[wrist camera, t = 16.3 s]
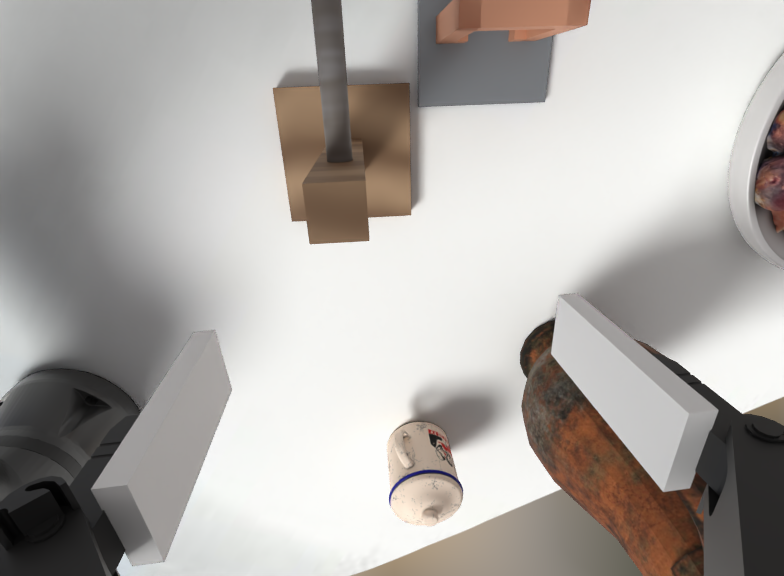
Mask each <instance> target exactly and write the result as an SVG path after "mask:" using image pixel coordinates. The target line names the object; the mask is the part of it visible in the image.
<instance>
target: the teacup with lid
mask: <svg viewBox="0 0 784 576" xmlns="http://www.w3.org/2000/svg"><path fill="white" fill-rule="evenodd" d="M387 455H388V468H389V480H390V495H389V503H390V506H391V508H392V510H393V512H394V513H395V515H396V516H397V517H398V518H399V519H401V520H402V521H404V522H407V523H409V524H413V525H426V526H434V525H435V524H437V523H439V522H442V521H444V520H446V519H448V518H449V517H451V516H452V515H453V514H454V513H455V512H456V511H457V510H458V509H459V507H460V505H461V502H462V499H463V488H462V485H461V483H460V482H459V480H458V477H457V473H456V469H455V465H454V462H453V458H452V454H451V450H450V446H449V442H448V439H447V436H446V434H445V432H444V431H443V430H442V429H441V428H440V427H438V426H436V425H434V424H432V423H428V422H412V423H409V424H406V425H403V426H401V427H400V428H398V429H397V430H396V431H395V432H394V433H393V434H392V435H391V436H390V438H389V440H388V443H387Z"/></svg>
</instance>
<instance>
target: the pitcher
mask: <svg viewBox="0 0 784 576" xmlns="http://www.w3.org/2000/svg"><path fill="white" fill-rule="evenodd" d="M554 327H555V321H551V322H547V323H546V324H544V325H542V326H540V327H538V328H537V329H535V330H534V331H533V332H532V333H531V334H530V336H529V337H528V338H527V339H526V340H525V342H524V345H523V347H522V350H521V352H520V364H521V367H522V370H523V373H524V375H525V376H526V377H527V382H526V386H525V390H524V395H523V400H522V412H523V418H524V423H525V427H526V432H527V436H528V440H529V444H530V446H531V448H532V449H533V451H534V452H535V454H536V455H537V457H538V458H539V460H540V461H541V463H542V464H543V466H544V467H545V469H546V470H547V471H548V473H549V474H550V476H551V477H552V479H553V480H554V482H555V483H557V484H558V485H559V486H560V487H561V488H562V489H563V490H564V491H565V492H566V493H567V494H568V495H569V496H571V497H572V498H573V499H574V500H575V501H576V502H577V503H578V504H579V505H580V506H581V507H582V508H583V509H585V510H586V511H587V512H588V513H589V514H590V515H591V516H592V517H593V518H595V519H596V520H597V521H598V522H599V523H600V524H601V525H602V526H603V527H604V528H606V529H607V530H608V531H609V532H610V533H611V534H612V535H613V536H614V537H615V538H616V539H617V540H618V541H619V543H620V544H621V545H622V547H623V548H624V549H625V551H626V552H627V554H628V555H629V556H630V558H631V559H632V560H633V562H634V563H635V564H636V566H637V567H638V568H639V570H640V571H641V573H642V574H643V576H704V509H703V511H702V513H701V514H698V513H696V511H697V508H698V506H699V503H700V500H701V498H702V495H703V493H704V490H705V488H706V485H707V483H706V482H705V481H704V480H703V479H702V478H701V477H700V476H699V475H698V473H697V472H696V473H695V476H694V479H693V481H692V484H691V487H690V488H689V489H682V490H674V491H667V492H663V491H662V490H661V489H660V487H659V486H658V485H657V484H656V482H655V481H654V480H653V479H652V478H651V476H650V475H649V474H648V473H647V471H646V470H645V469H644V468H643V466H642V465H641V464H640V463H639V462H638V460H637V459H636V458H635V457H634V455H633V454H632V453H631V452H630V450H629V449H628V448H627V447H626V446H625V444H624V443H623V442H622V441H621V439H620V438H619V437H618V436H617V434H616V433H615V432H614V431H613V430H612V428H611V427H610V426H609V425H608V423H607V422H606V421H605V420H604V418H603V417H602V416H601V415H600V414H599V412H598V411H597V410H596V409H595V407H594V406H593V405H592V404H591V402H590V401H589V400H588V399H587V398H586V396H585V395H584V394H583V393H582V391H581V390H580V389H579V388H578V386H577V385H576V384H575V383H574V382H573V380H572V379H571V378H570V377H569V375H568V374H567V373H566V372H565V370H564V369H563V368H562V367H561V366H560V364H559V363H558V362H557V361H556V359H555V358H554V357H553V356H552V354H551V350H552V342H553V334H554ZM634 340H635V339H634ZM635 341H636V342H637V343H638V344H640V345H641V346H642V347H643V348H644V349H646V350H647V351H648V352H649V353H650V354H661V353H659V352H658V351H656V350H655V349H653V348H652V347H650V346H649V345H647V344H645V343H642V342H640V341H637V340H635ZM661 355H662V354H661ZM663 356H664V355H663Z"/></svg>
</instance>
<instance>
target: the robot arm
mask: <svg viewBox="0 0 784 576" xmlns="http://www.w3.org/2000/svg"><path fill="white" fill-rule="evenodd" d="M551 354H552V356H553V357H554V358H555V359H556V361H557V362H558V363H559V364H560V366H561V367H562V368H563V369H564V370H565V372H566V373H567V374H568V375H569V377H570V378H571V379H572V380H573V382H574V383H575V384H576V385H577V386H578V388H579V389H580V390H581V391H582V393H583V394H584V395H585V396H586V398H587V399H588V400H589V401H590V402H591V404H592V405H593V406H594V407H595V409H596V410H597V411H598V412H599V414H600V415H601V416H602V417H603V418H604V420H605V421H606V422H607V423H608V425H609V426H610V427H611V428H612V430H613V431H614V432H615V433H616V434H617V436H618V437H619V438H620V439H621V441H622V442H623V443H624V444H625V446H626V447H627V448H628V449H629V450H630V452H631V453H632V454H633V455H634V457H635V458H636V459H637V460H638V462H639V463H640V464H641V465H642V466H643V468H644V469H645V470H646V471H647V473H648V474H649V475H650V476H651V478H652V479H653V480H654V481H655V482H656V484H657V485H658V486H659V487H660V489H661V490H662V491H663V492H667V491H674V490H682V489H689V488H690V487H691V484H692V481H693V479H694V476H695V473H696V472H697V473H698V475H699V476H700V477H701V478H702V479H703V480H704V481H705V482H706V483H707V485H706V488H705V490H704V493H703V495H702V498H701V500H700V503H699V506H698V508H697V511H696V513H698V514H701V513H702V511H703V509H704V576H784V426H783V425H781V424H779V423H777V422H775V421H773V420H770V419H767V418H765V417H762V416H757V415H752V414H742V413H740V412H739V411H738V410H737V409H735V408H734V407H733V406H731V405H730V404H729V403H728V402H726V401H725V400H724V399H723V398H721V397H720V396H719V395H718V394H716V393H715V392H714V391H712V390H711V389H710V388H709V387H707V386H706V385H705V384H702V383H701V381H700V380H698V379H697V378H696V377H695V376H693V375H690V372H688V371H687V370H686V369H685V368H683V367H682V366H681V365H679V364H678V363H677V362H675V361H673V360H671V359H669V358H667V357H665V356H663V355H661V354H650V353H649V352H648V351H647V350H646V349H644V348H643V347H642V346H641V345H640V344H638V343H637V342H636V341H635V340H634V339H632V338H631V337H630V336H629V335H627V334H626V333H625V332H624V331H623V330H621V329H620V328H619V327H618V326H617V325H615V324H614V323H613V322H612V321H611V320H609V319H608V318H607V317H606V316H605V315H603V314H602V313H601V312H600V311H598V310H597V309H596V308H595V307H594V306H592V305H591V304H590V303H589V302H588V301H586V300H585V299H584V298H583V297H582V296H580V295H579V294H578V293H574V294H564V295H559V296H558V304H557V312H556V319H555V327H554V334H553V342H552V350H551ZM231 391H232V388H231V384H230V381H229V377H228V374H227V370H226V367H225V363H224V360H223V356H222V353H221V349H220V346H219V342H218V339H217V335H216V332H215V330H211V331H201V332H194V333H193V334H192V336H191V337H190V339H189V340H188V342H187V343H186V345H185V346H184V348H183V349H182V351H181V352H180V354H179V355H178V357H177V358H176V360H175V362H174V363H173V365H172V366H171V368H170V369H169V371H168V372H167V374H166V375H165V377H164V378H163V380H162V381H161V383H160V384H159V386H158V387H157V389H156V391H155V392H154V394H153V395H152V397H151V398H150V400H149V401H148V403H147V404H146V406H145V407H144V409H143V410H142V412H141V413H140V412H139V410H138V408H137V406H136V405H135V403H134V402H133V401H132V400H131V398H130V397H129V396H128V395H127V394H126V393H124V392H123V391H122V390H121V389H119V388H118V387H117V386H115V385H114V384H112V383H110V382H108V381H107V380H105V379H102V378H100V377H98V376H95V375H92V374H89V373H86V372H82V371H76V370H69V369H52V370H45V371H40V372H37V373H34V374H32V375H29V376H27V377H26V378H24V379H23V380H21V381H20V382H19V383H18V384H17V385H15V386H14V387H13V388H12V389H11V390H10V391H8V392H7V393H6V394H5V395H4V397H3V398H2V399H1V400H0V576H120V574H119V573H118V571H117V569H116V568H117V566H118V564H119V562H120V560H121V558H122V556H123V554H124V552H125V553H126V555H127V557H128V559H129V561H130V563H131V564H132V566H139V565H146V564H153V563H160V562H165V559H166V557H167V554H168V552H169V549H170V547H171V544H172V542H173V539H174V536H175V534H176V531H177V529H178V526H179V524H180V521H181V519H182V516H183V513H184V511H185V508H186V506H187V503H188V501H189V498H190V496H191V493H192V491H193V488H194V485H195V483H196V480H197V478H198V475H199V473H200V470H201V468H202V465H203V462H204V460H205V457H206V455H207V452H208V450H209V447H210V445H211V442H212V440H213V437H214V434H215V432H216V429H217V427H218V424H219V422H220V419H221V417H222V414H223V411H224V409H225V406H226V404H227V401H228V399H229V396H230V394H231Z"/></svg>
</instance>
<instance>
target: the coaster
mask: <svg viewBox="0 0 784 576" xmlns="http://www.w3.org/2000/svg"><path fill="white" fill-rule="evenodd" d="M451 1H452V0H418V107H431V106H456V105H482V104H507V103H533V102H545V97H546V89H547V80H548V72H549V63H550V55H551V47H552V38H553V36H550V37H546V38H543V39H540V40H537V41H513V42H508V38H509V30H497V31H474V32H472V33H470V34H469V35H468V41H467V42H465V43H448V44H436V16H437V15H438V14H439V13H440V12H441V11H442V10H443V9H444V8H445V7H446V6H447V5H448V4H449V3H450V2H451Z"/></svg>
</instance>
